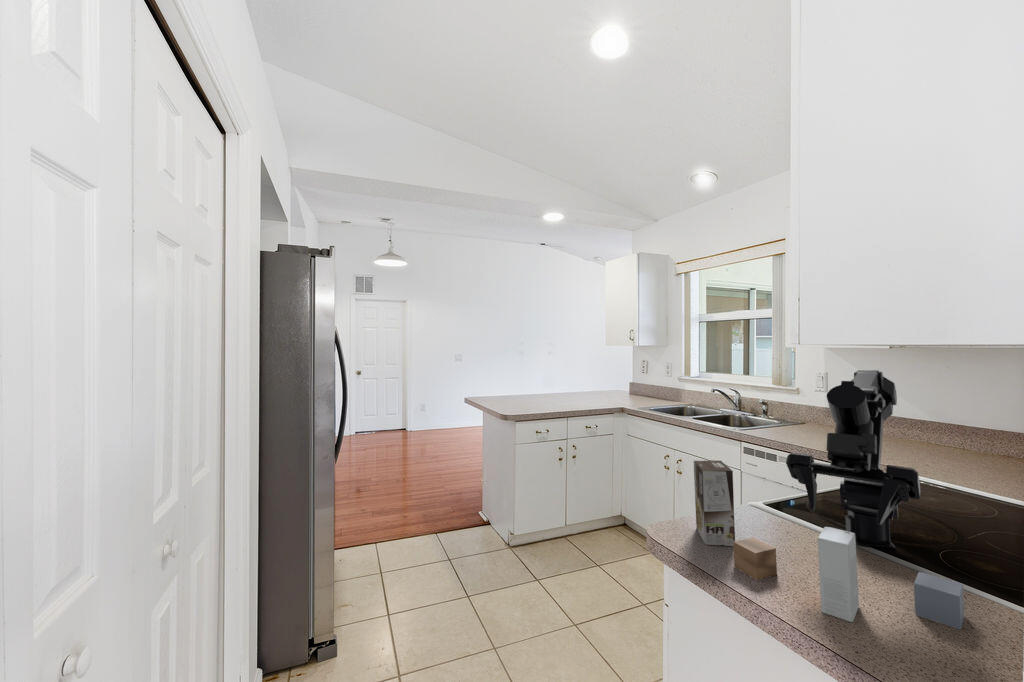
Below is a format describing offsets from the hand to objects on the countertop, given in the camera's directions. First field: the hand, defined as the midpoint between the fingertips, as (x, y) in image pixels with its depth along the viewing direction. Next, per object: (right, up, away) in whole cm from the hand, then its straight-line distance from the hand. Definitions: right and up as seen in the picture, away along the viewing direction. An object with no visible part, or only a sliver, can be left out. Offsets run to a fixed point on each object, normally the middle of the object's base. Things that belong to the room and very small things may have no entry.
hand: (844, 516), depth 75 cm
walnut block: (-11, -14, +8) cm, 19 cm away
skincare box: (-4, -13, -5) cm, 15 cm away
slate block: (+10, -13, -7) cm, 17 cm away
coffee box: (-12, -14, +23) cm, 29 cm away
